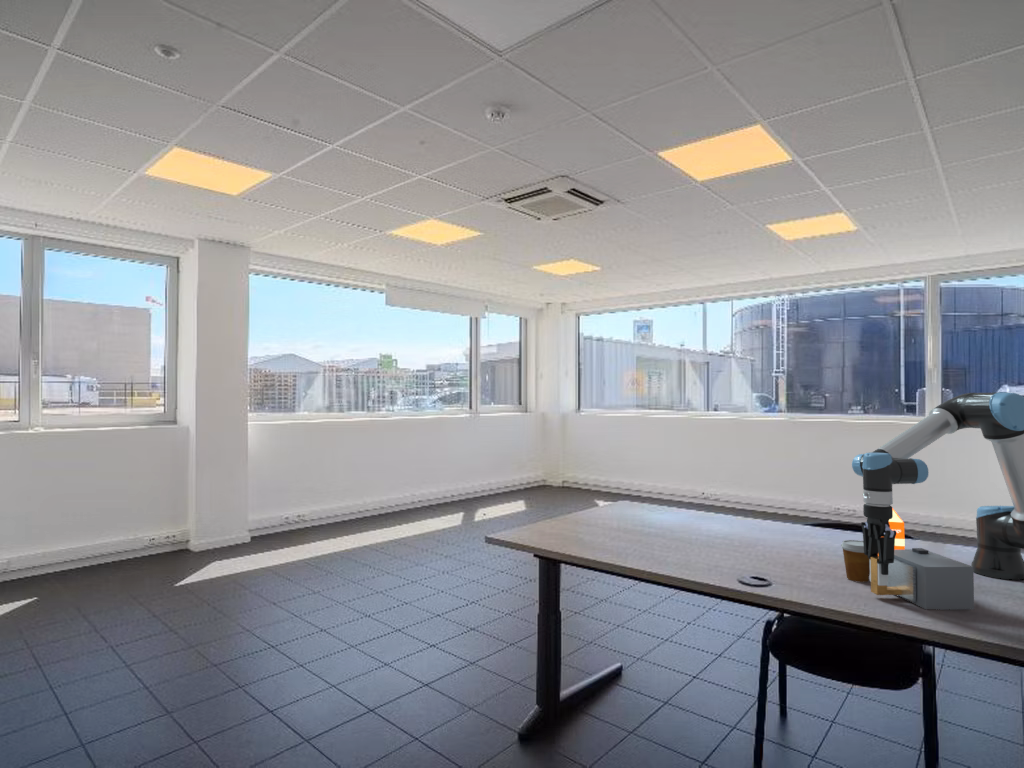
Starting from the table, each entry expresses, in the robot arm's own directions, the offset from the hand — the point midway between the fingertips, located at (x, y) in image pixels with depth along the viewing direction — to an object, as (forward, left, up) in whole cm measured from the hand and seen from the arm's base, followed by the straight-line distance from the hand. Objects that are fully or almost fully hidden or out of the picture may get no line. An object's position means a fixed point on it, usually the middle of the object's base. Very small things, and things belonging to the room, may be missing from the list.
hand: (878, 583), depth 182 cm
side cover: (-3, 0, -4) cm, 4 cm away
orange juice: (-32, -44, -5) cm, 55 cm away
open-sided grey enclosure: (-14, 0, -5) cm, 15 cm away
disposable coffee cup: (-5, -19, -5) cm, 20 cm away
